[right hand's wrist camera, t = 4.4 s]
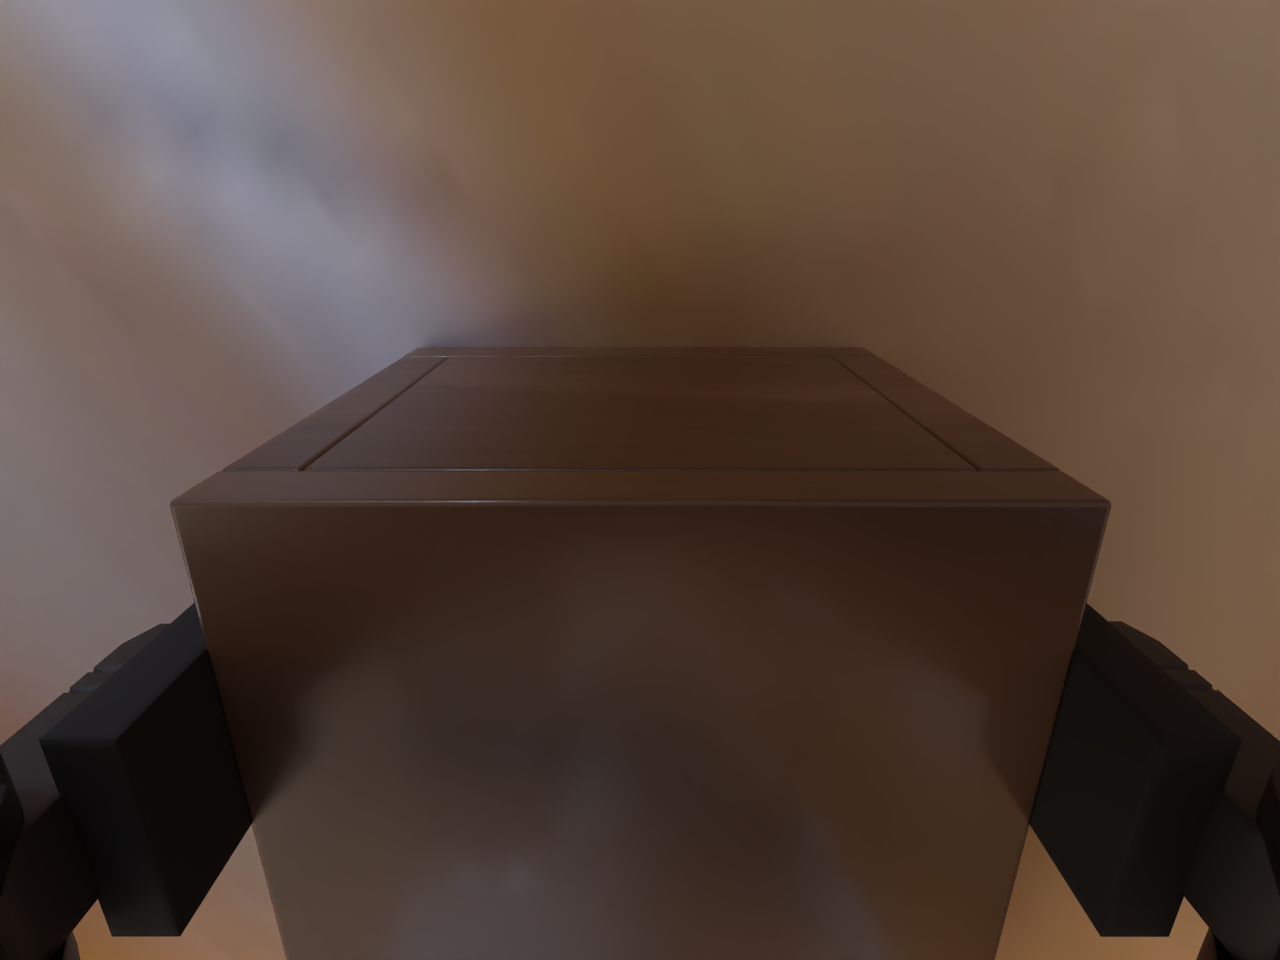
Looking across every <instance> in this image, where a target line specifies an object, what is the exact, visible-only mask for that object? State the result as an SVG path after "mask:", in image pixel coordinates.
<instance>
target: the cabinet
mask: <svg viewBox="0 0 1280 960" xmlns="http://www.w3.org/2000/svg"><path fill="white" fill-rule="evenodd" d="M170 507H171V511H172V515H173V519H174V523H175V526H176V530H177V534H178V538H179V542H180V546H181V550H182V554H183V558H184V562H185V565H186V569H187V573H188V577H189V581H190V585H191V589H192V593H193V597H194V600H195V604H196V608H197V612H198V616H199V620H200V624H201V628H202V632H203V636H204V639H205V643H206V647H207V651H208V655H209V659H210V663H211V667H212V671H213V675H214V678H215V682H216V686H217V690H218V694H219V698H220V702H221V706H222V710H223V713H224V717H225V721H226V725H227V729H228V733H229V737H230V741H231V745H232V749H233V752H234V756H235V760H236V764H237V768H238V772H239V776H240V780H241V784H242V788H243V791H244V795H245V799H246V803H247V807H248V811H249V815H250V819H251V823H252V826H253V830H254V834H255V838H256V842H257V846H258V850H259V854H260V858H261V862H262V865H263V869H264V873H265V877H266V881H267V885H268V889H269V893H270V897H271V901H272V904H273V908H274V912H275V916H276V920H277V924H278V928H279V932H280V936H281V939H282V943H283V947H284V951H285V955H286V959H287V960H994V959H995V956H996V952H997V948H998V944H999V940H1000V936H1001V932H1002V928H1003V924H1004V921H1005V917H1006V913H1007V909H1008V905H1009V901H1010V897H1011V893H1012V889H1013V886H1014V882H1015V878H1016V874H1017V870H1018V866H1019V862H1020V858H1021V854H1022V851H1023V847H1024V843H1025V839H1026V835H1027V831H1028V827H1029V823H1030V819H1031V816H1032V812H1033V808H1034V804H1035V800H1036V796H1037V792H1038V788H1039V784H1040V781H1041V777H1042V773H1043V769H1044V765H1045V761H1046V757H1047V753H1048V749H1049V746H1050V742H1051V738H1052V734H1053V730H1054V726H1055V722H1056V718H1057V714H1058V711H1059V707H1060V703H1061V699H1062V695H1063V691H1064V687H1065V683H1066V680H1067V676H1068V672H1069V668H1070V664H1071V660H1072V656H1073V652H1074V648H1075V645H1076V641H1077V637H1078V633H1079V629H1080V625H1081V621H1082V617H1083V613H1084V610H1085V606H1086V602H1087V598H1088V594H1089V590H1090V586H1091V582H1092V578H1093V575H1094V571H1095V567H1096V563H1097V559H1098V555H1099V551H1100V547H1101V543H1102V540H1103V536H1104V532H1105V528H1106V524H1107V520H1108V516H1109V512H1110V508H1111V504H1110V501H1109V500H1107V499H1106V498H1104V497H1103V496H1101V495H1099V494H1098V493H1096V492H1094V491H1093V490H1091V489H1090V488H1088V487H1086V486H1085V485H1083V484H1082V483H1080V482H1078V481H1077V480H1075V479H1074V478H1072V477H1070V476H1069V475H1067V474H1065V473H1063V472H1060V470H1059V469H1058V468H1057V467H1055V466H1053V465H1052V464H1050V463H1049V462H1047V461H1045V460H1044V459H1042V458H1041V457H1039V456H1037V455H1036V454H1034V453H1032V452H1031V451H1029V450H1028V449H1026V448H1024V447H1023V446H1021V445H1020V444H1018V443H1016V442H1015V441H1013V440H1011V439H1010V438H1008V437H1007V436H1005V435H1003V434H1002V433H1000V432H999V431H997V430H995V429H994V428H992V427H990V426H989V425H987V424H986V423H984V422H982V421H981V420H979V419H978V418H976V417H974V416H973V415H971V414H969V413H968V412H966V411H965V410H963V409H961V408H960V407H958V406H957V405H955V404H953V403H952V402H950V401H948V400H947V399H945V398H944V397H942V396H940V395H939V394H937V393H936V392H934V391H932V390H931V389H929V388H927V387H926V386H924V385H923V384H921V383H919V382H918V381H916V380H915V379H913V378H911V377H910V376H908V375H906V374H905V373H903V372H902V371H900V370H898V369H897V368H895V367H894V366H892V365H890V364H889V363H887V362H885V361H884V360H882V359H881V358H879V357H877V356H876V355H874V354H872V353H871V352H869V351H868V350H866V349H864V348H417V349H415V350H414V351H412V352H410V353H409V354H407V355H406V356H404V357H403V358H401V359H400V360H398V361H397V362H395V363H393V364H392V365H390V366H389V367H387V368H385V369H384V370H382V371H381V372H379V373H377V374H376V375H374V376H372V377H371V378H369V379H368V380H366V381H364V382H363V383H361V384H360V385H358V386H356V387H355V388H353V389H352V390H350V391H348V392H347V393H345V394H343V395H342V396H340V397H339V398H337V399H335V400H334V401H332V402H331V403H329V404H327V405H326V406H324V407H323V408H321V409H319V410H318V411H316V412H314V413H313V414H311V415H310V416H308V417H306V418H305V419H303V420H302V421H300V422H298V423H297V424H295V425H294V426H292V427H290V428H289V429H287V430H285V431H284V432H282V433H281V434H279V435H277V436H276V437H274V438H273V439H271V440H269V441H268V442H266V443H265V444H263V445H261V446H260V447H258V448H256V449H255V450H253V451H252V452H250V453H248V454H247V455H245V456H244V457H242V458H240V459H239V460H237V461H236V462H234V463H232V464H231V465H229V466H227V467H226V468H224V469H223V471H220V472H217V473H215V474H214V475H212V476H211V477H209V478H207V479H206V480H204V481H203V482H201V483H199V484H198V485H196V486H195V487H193V488H191V489H190V490H188V491H186V492H185V493H183V494H182V495H180V496H178V497H177V498H175V499H174V500H172V502H171V506H170Z"/></svg>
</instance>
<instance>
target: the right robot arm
mask: <svg viewBox="0 0 1280 960" xmlns="http://www.w3.org/2000/svg"><path fill="white" fill-rule="evenodd" d="M251 824H252V823H251V819H250V815H249V811H248V807H247V803H246V799H245V795H244V791H243V788H242V784H241V780H240V776H239V772H238V768H237V764H236V760H235V756H234V752H233V749H232V745H231V741H230V737H229V733H228V729H227V725H226V721H225V717H224V713H223V710H222V706H221V702H220V698H219V694H218V690H217V686H216V682H215V678H214V675H213V671H212V667H211V663H210V659H209V655H208V651H207V647H206V643H205V639H204V636H203V632H202V628H201V624H200V620H199V616H198V612H197V608H196V604H195V603H194V604H192V605H191V606H190V607H189V608H188V609H187V610H186V611H184V612H183V613H182V614H181V615H180V616H179V617H178V618H177V619H175V620H174V621H173V622H172V623H171V624H159V625H157V626H155V627H153V628H152V629H150V630H148V631H146V632H144V633H142V634H140V635H138V636H136V637H135V638H133V639H131V640H129V641H127V642H125V643H123V644H122V645H120V646H119V647H118V648H117V649H116V650H114V651H113V652H112V653H111V654H110V655H108V656H107V657H106V658H105V659H104V660H102V661H101V662H100V663H99V664H98V665H96V666H95V667H94V671H93V673H87V674H86V675H85V676H83V677H82V678H81V679H80V680H79V681H77V682H76V683H75V684H74V685H73V686H71V687H70V692H69V693H63V694H62V695H61V696H59V697H58V698H57V699H56V700H55V701H53V702H52V703H51V704H50V705H49V706H47V707H46V708H45V709H44V710H43V711H41V712H40V713H39V714H38V715H37V716H35V717H34V718H33V719H32V720H31V721H29V722H28V723H27V724H26V725H25V726H23V727H22V728H21V729H20V730H19V731H18V732H16V733H15V734H14V735H13V736H12V737H10V738H9V739H8V740H7V741H6V742H4V743H3V744H2V745H1V746H0V960H80V956H79V950H78V944H77V942H76V939H75V937H74V934H73V932H72V931H73V929H74V928H75V927H76V926H77V924H78V923H79V922H80V921H81V919H82V918H83V917H84V915H85V914H86V913H87V912H88V910H89V909H90V908H91V907H92V905H93V904H94V903H95V901H96V900H97V899H98V900H99V902H100V905H101V908H102V911H103V913H104V916H105V919H106V921H107V924H108V927H109V929H110V932H111V935H112V936H181V934H182V933H183V931H184V929H185V928H186V926H187V925H188V923H189V921H190V920H191V918H192V917H193V915H194V914H195V912H196V910H197V909H198V907H199V906H200V904H201V903H202V901H203V899H204V898H205V896H206V895H207V893H208V892H209V890H210V888H211V887H212V885H213V884H214V882H215V880H216V879H217V877H218V876H219V874H220V873H221V871H222V869H223V868H224V866H225V865H226V863H227V862H228V860H229V858H230V857H231V855H232V854H233V852H234V851H235V849H236V847H237V846H238V844H239V843H240V841H241V839H242V838H243V836H244V835H245V833H246V832H247V830H248V828H249V827H250V825H251ZM1029 824H1030V826H1031V827H1032V829H1033V830H1034V832H1035V834H1036V835H1037V837H1038V838H1039V840H1040V841H1041V843H1042V845H1043V846H1044V848H1045V849H1046V851H1047V852H1048V854H1049V856H1050V857H1051V859H1052V860H1053V862H1054V863H1055V865H1056V867H1057V868H1058V870H1059V871H1060V873H1061V875H1062V876H1063V878H1064V879H1065V881H1066V882H1067V884H1068V886H1069V887H1070V889H1071V890H1072V892H1073V893H1074V895H1075V897H1076V898H1077V900H1078V901H1079V903H1080V904H1081V906H1082V908H1083V909H1084V911H1085V912H1086V914H1087V916H1088V917H1089V919H1090V920H1091V922H1092V923H1093V925H1094V927H1095V928H1096V930H1097V931H1098V933H1099V934H1100V936H1102V937H1169V935H1170V932H1171V929H1172V927H1173V924H1174V921H1175V919H1176V916H1177V913H1178V911H1179V908H1180V905H1181V903H1182V900H1183V897H1184V896H1185V898H1186V899H1187V900H1188V901H1189V903H1190V904H1191V905H1192V907H1193V908H1194V909H1195V910H1196V912H1197V913H1198V914H1199V915H1200V917H1201V918H1202V919H1203V920H1204V922H1205V923H1206V924H1207V925H1208V927H1209V929H1208V932H1207V934H1206V937H1205V939H1204V942H1203V944H1202V947H1201V949H1200V952H1199V954H1198V956H1197V959H1196V960H1280V741H1279V740H1278V739H1276V738H1275V737H1274V736H1273V735H1272V734H1270V733H1269V732H1268V731H1267V730H1266V729H1264V728H1263V727H1262V726H1261V725H1259V724H1258V723H1257V722H1256V721H1255V720H1253V719H1252V718H1251V717H1250V716H1249V715H1247V714H1246V713H1245V712H1244V711H1243V710H1241V709H1240V708H1239V707H1238V706H1237V705H1235V704H1234V703H1233V702H1232V701H1231V700H1229V699H1228V698H1227V697H1226V696H1225V695H1223V694H1222V693H1221V692H1220V691H1218V690H1213V689H1212V685H1211V684H1210V683H1209V682H1208V681H1206V680H1205V679H1204V678H1203V677H1202V676H1200V675H1199V674H1198V673H1197V672H1196V671H1194V670H1189V669H1188V665H1187V664H1186V663H1185V662H1184V661H1182V660H1181V659H1180V658H1179V657H1178V656H1176V655H1175V654H1174V653H1173V652H1171V651H1170V650H1169V649H1168V648H1167V647H1165V646H1164V645H1163V644H1162V643H1161V642H1159V641H1157V640H1156V639H1154V638H1152V637H1150V636H1148V635H1146V634H1144V633H1142V632H1140V631H1138V630H1136V629H1135V628H1133V627H1131V626H1129V625H1127V624H1125V623H1123V622H1108V621H1107V620H1105V619H1104V618H1103V617H1102V616H1101V615H1100V614H1099V613H1098V612H1096V611H1095V610H1094V609H1093V608H1092V607H1091V606H1090V605H1088V604H1087V603H1086V606H1085V610H1084V613H1083V617H1082V621H1081V625H1080V629H1079V633H1078V637H1077V641H1076V645H1075V648H1074V652H1073V656H1072V660H1071V664H1070V668H1069V672H1068V676H1067V680H1066V683H1065V687H1064V691H1063V695H1062V699H1061V703H1060V707H1059V711H1058V714H1057V718H1056V722H1055V726H1054V730H1053V734H1052V738H1051V742H1050V746H1049V749H1048V753H1047V757H1046V761H1045V765H1044V769H1043V773H1042V777H1041V781H1040V784H1039V788H1038V792H1037V796H1036V800H1035V804H1034V808H1033V812H1032V816H1031V819H1030V823H1029Z"/></svg>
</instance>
